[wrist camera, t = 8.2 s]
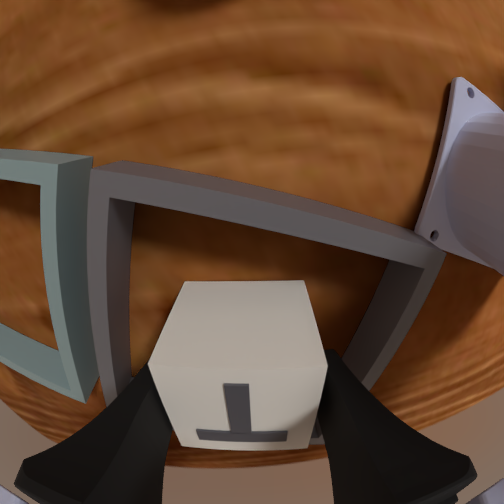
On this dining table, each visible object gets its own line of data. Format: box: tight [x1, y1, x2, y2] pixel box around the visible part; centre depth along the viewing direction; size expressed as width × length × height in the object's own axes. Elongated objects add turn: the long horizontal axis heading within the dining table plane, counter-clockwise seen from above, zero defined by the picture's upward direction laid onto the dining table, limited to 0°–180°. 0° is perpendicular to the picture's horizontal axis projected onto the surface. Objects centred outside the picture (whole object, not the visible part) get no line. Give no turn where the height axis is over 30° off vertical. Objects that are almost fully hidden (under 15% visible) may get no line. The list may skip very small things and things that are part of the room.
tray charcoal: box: [87, 160, 447, 444], centre depth 12 cm, size 13×13×2 cm
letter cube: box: [148, 280, 328, 450], centre depth 10 cm, size 5×5×5 cm
